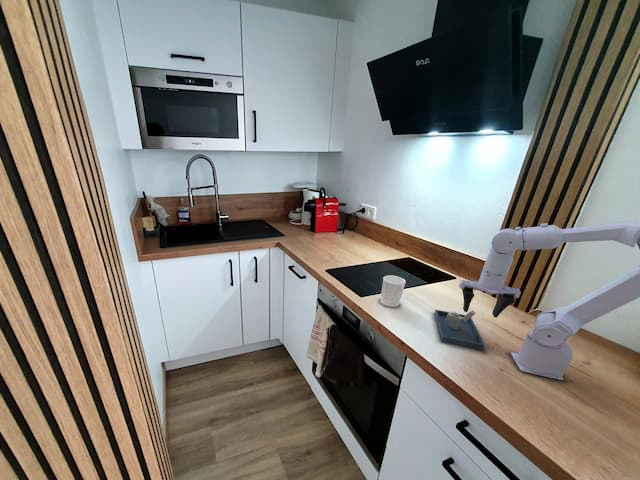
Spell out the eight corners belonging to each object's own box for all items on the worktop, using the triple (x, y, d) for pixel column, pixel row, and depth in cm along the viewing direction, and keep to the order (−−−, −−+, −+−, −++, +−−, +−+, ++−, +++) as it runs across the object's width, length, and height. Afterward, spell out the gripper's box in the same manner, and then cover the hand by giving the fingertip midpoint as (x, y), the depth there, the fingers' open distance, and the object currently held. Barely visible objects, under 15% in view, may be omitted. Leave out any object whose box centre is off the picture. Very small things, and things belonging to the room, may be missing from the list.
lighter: (444, 324, 97) (450, 304, 93) (446, 322, 98) (452, 302, 94) (467, 334, 92) (475, 313, 89) (469, 332, 93) (476, 311, 90)
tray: (468, 320, 100) (470, 316, 99) (482, 350, 85) (484, 345, 84) (433, 314, 104) (435, 309, 103) (441, 341, 89) (442, 336, 88)
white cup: (404, 307, 107) (410, 283, 103) (385, 308, 106) (390, 284, 102) (393, 297, 114) (398, 274, 110) (375, 298, 113) (379, 275, 109)
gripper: (468, 272, 78) (454, 314, 84) (532, 282, 74) (513, 325, 79) (463, 263, 84) (450, 303, 90) (521, 272, 80) (504, 313, 86)
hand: (479, 313), depth 85 cm, fingers open, 7 cm apart
